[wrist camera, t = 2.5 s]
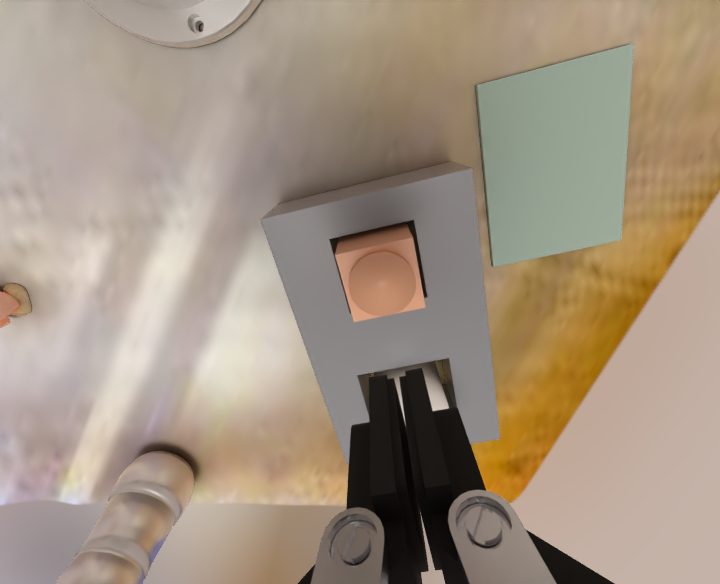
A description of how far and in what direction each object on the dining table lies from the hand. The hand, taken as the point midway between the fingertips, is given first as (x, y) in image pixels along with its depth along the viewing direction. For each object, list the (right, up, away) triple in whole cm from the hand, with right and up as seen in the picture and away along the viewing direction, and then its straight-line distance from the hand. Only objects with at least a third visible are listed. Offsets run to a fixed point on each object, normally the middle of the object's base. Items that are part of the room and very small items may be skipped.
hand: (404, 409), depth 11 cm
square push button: (0, +6, +13) cm, 14 cm away
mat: (+11, +12, +13) cm, 21 cm away
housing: (+1, +2, +17) cm, 17 cm away
